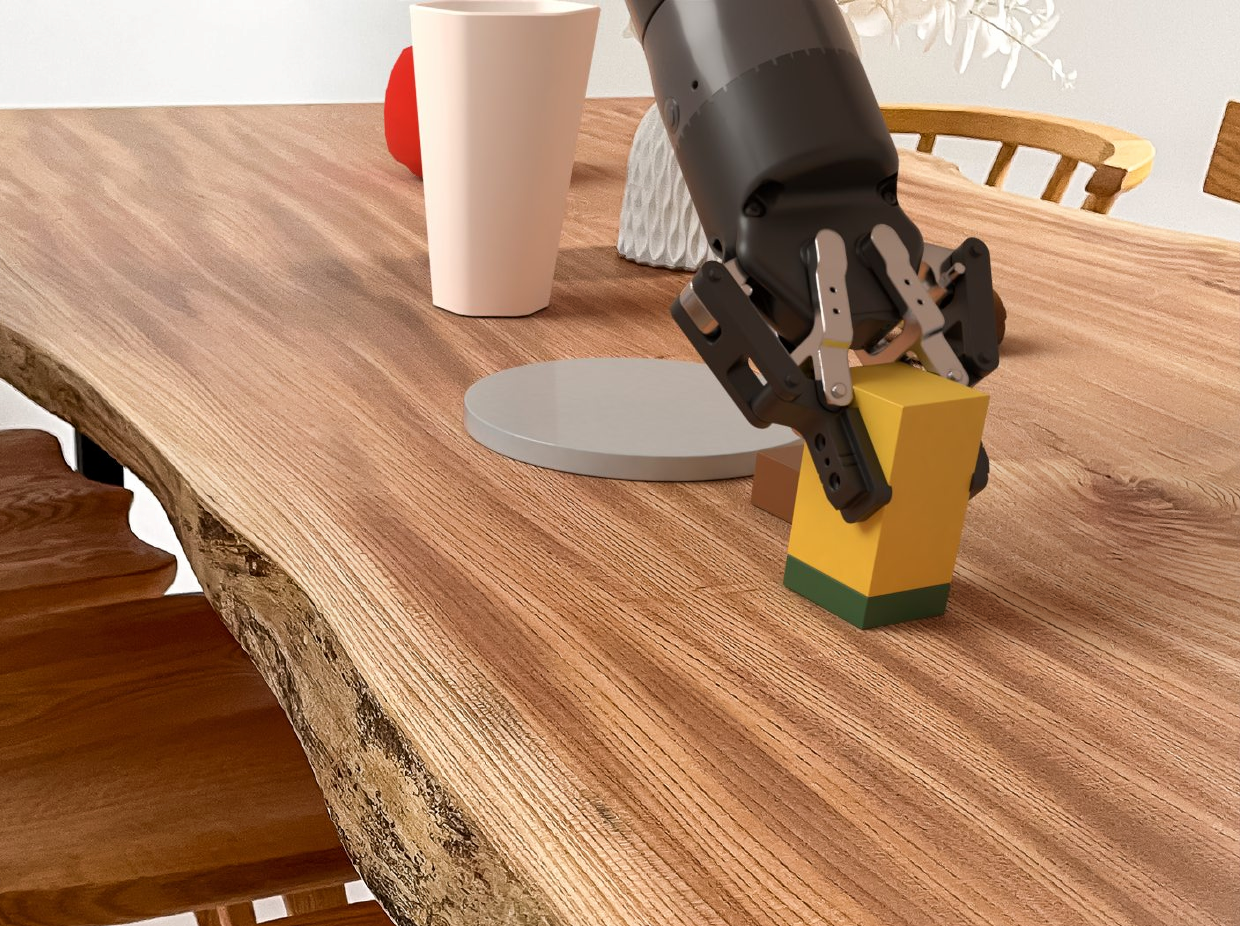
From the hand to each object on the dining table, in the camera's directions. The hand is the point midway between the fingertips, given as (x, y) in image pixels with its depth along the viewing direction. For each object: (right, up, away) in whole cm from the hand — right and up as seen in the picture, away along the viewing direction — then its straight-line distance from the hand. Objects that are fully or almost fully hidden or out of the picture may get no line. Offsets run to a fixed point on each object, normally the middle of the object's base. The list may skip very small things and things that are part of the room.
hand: (918, 503), depth 65 cm
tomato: (-11, +49, +89) cm, 102 cm away
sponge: (-1, -3, +4) cm, 5 cm away
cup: (-12, +23, +47) cm, 54 cm away
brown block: (0, +3, +13) cm, 13 cm away
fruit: (+13, +18, +39) cm, 45 cm away
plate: (-6, +9, +24) cm, 27 cm away
